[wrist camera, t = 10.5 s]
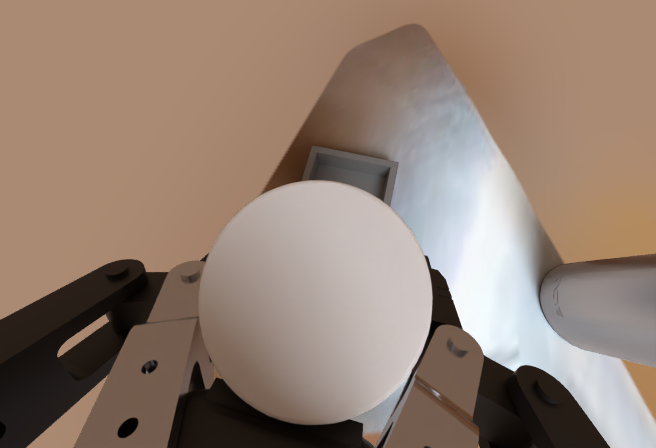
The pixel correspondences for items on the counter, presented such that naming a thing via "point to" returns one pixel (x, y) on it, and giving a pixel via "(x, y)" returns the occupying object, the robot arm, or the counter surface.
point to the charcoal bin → (352, 171)
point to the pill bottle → (315, 302)
